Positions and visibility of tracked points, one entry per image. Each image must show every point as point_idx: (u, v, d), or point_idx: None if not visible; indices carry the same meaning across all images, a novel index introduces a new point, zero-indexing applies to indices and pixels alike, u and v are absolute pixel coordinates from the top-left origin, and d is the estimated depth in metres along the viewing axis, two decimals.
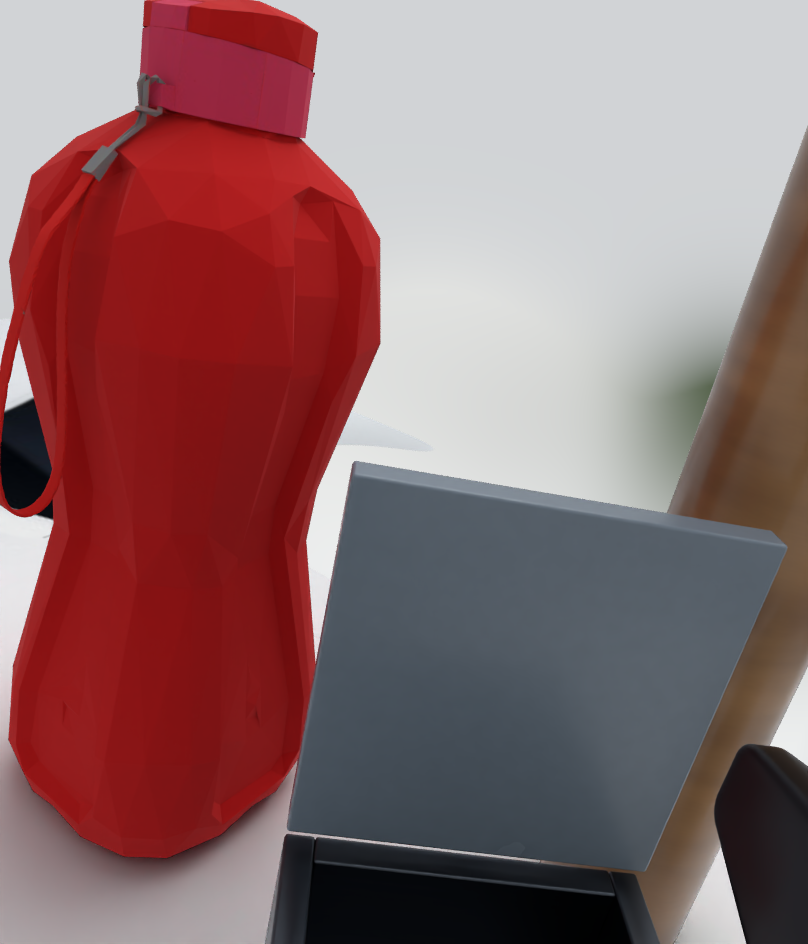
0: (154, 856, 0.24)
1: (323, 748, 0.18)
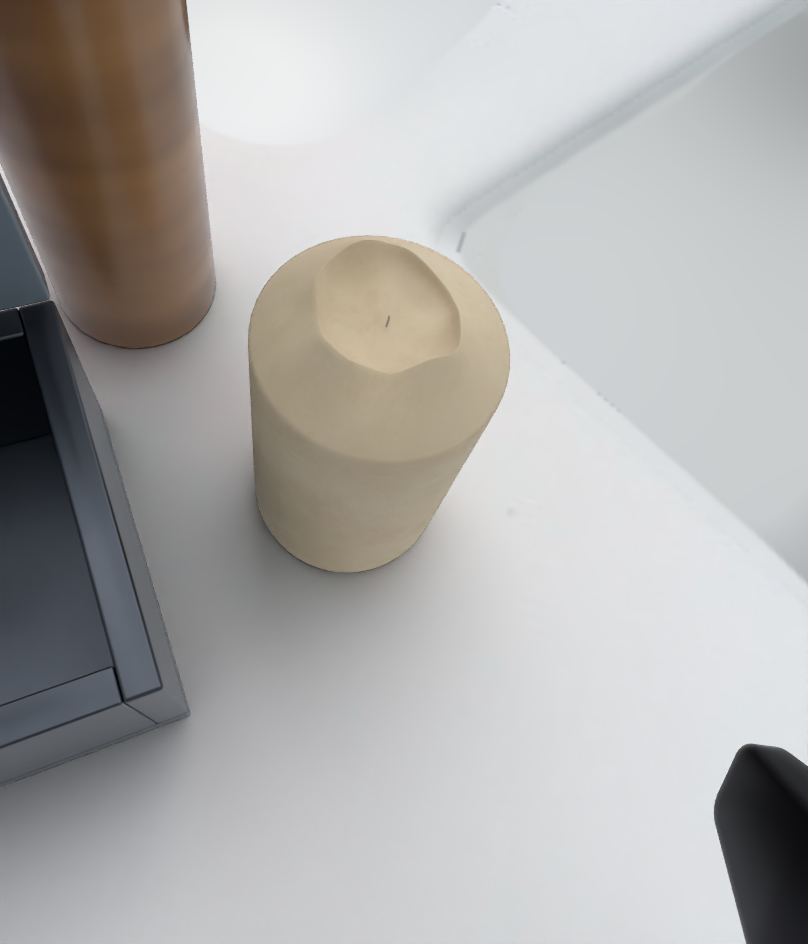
0: None
1: None
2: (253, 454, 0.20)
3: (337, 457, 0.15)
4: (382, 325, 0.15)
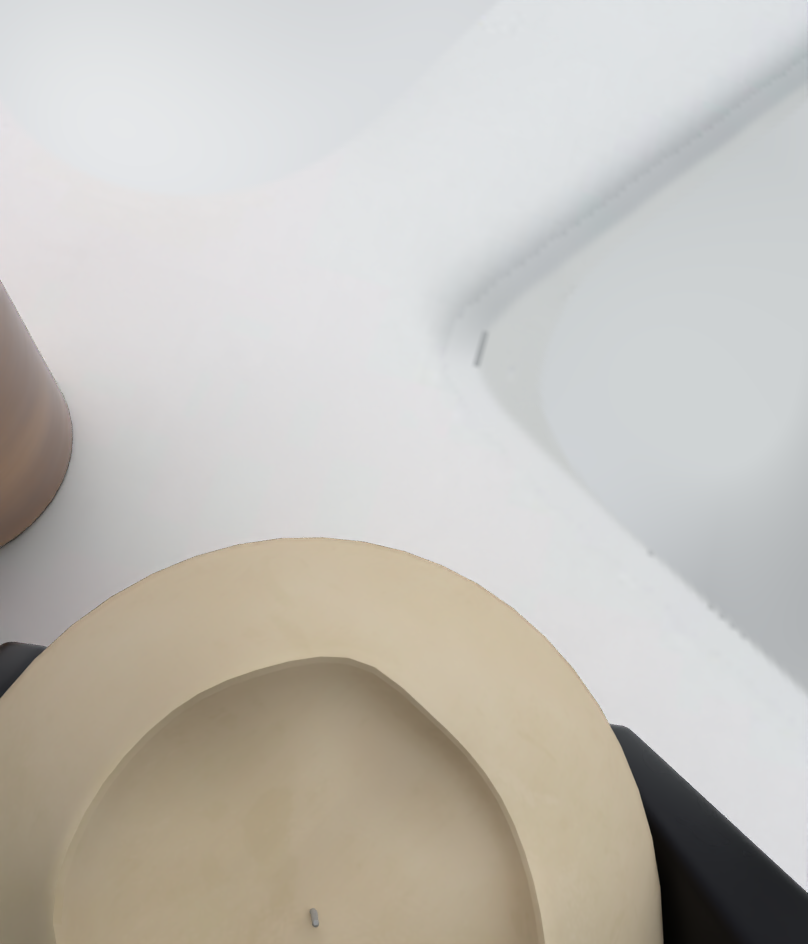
0: None
1: None
2: None
3: None
4: (299, 911, 0.05)
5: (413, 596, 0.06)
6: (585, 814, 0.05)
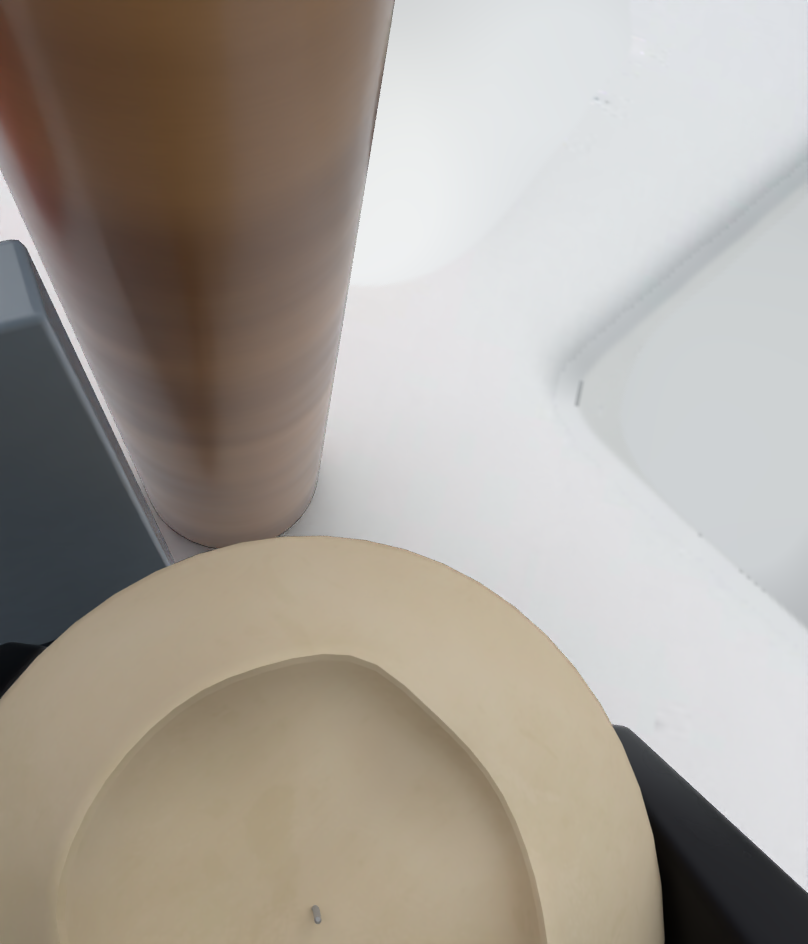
0: None
1: None
2: None
3: None
4: (303, 908, 0.05)
5: (415, 594, 0.06)
6: (586, 811, 0.05)
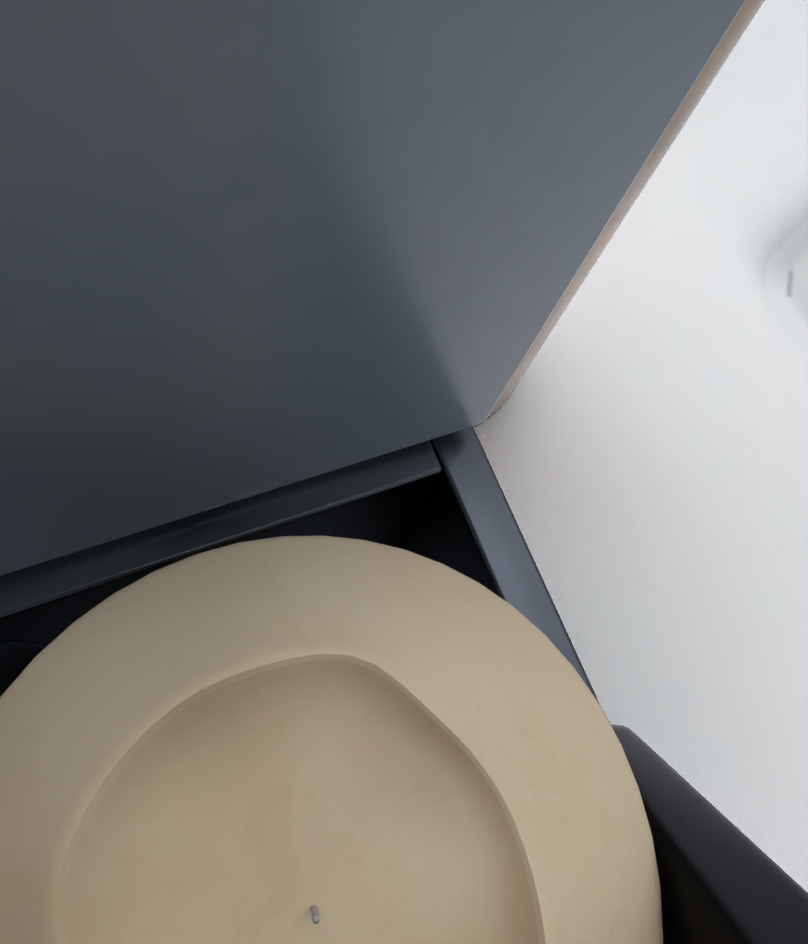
0: None
1: None
2: None
3: None
4: (300, 908, 0.05)
5: (413, 594, 0.06)
6: (585, 811, 0.05)
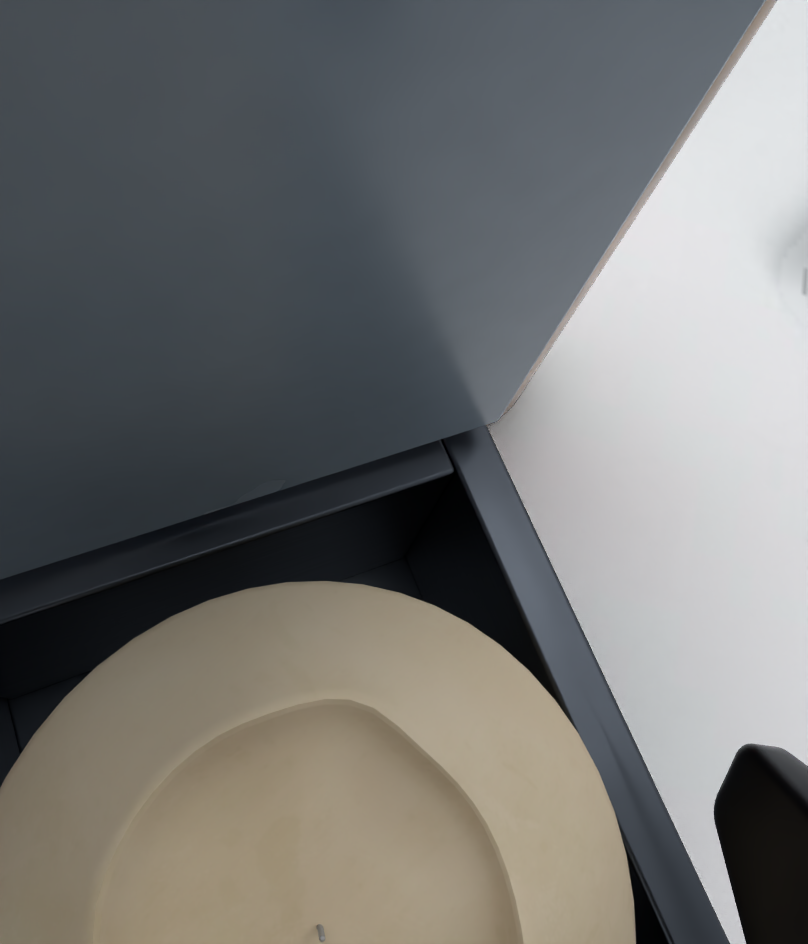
0: None
1: None
2: None
3: None
4: (307, 927, 0.06)
5: (408, 637, 0.07)
6: (563, 836, 0.06)
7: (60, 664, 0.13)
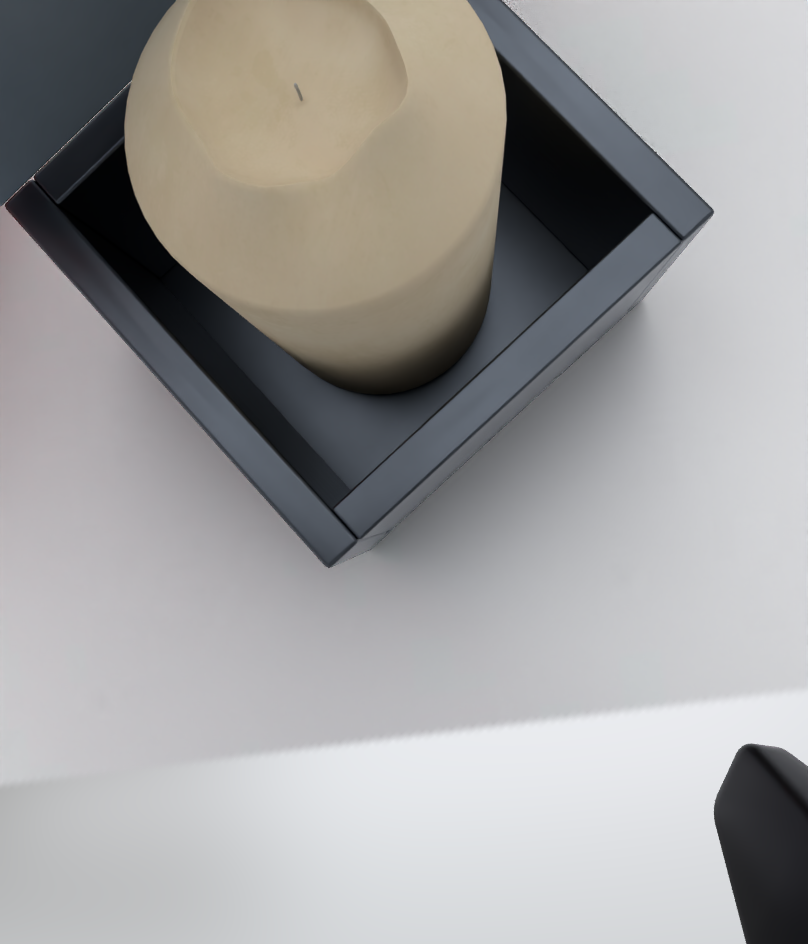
0: None
1: None
2: None
3: (323, 315, 0.11)
4: (295, 101, 0.10)
5: None
6: (418, 0, 0.10)
7: None
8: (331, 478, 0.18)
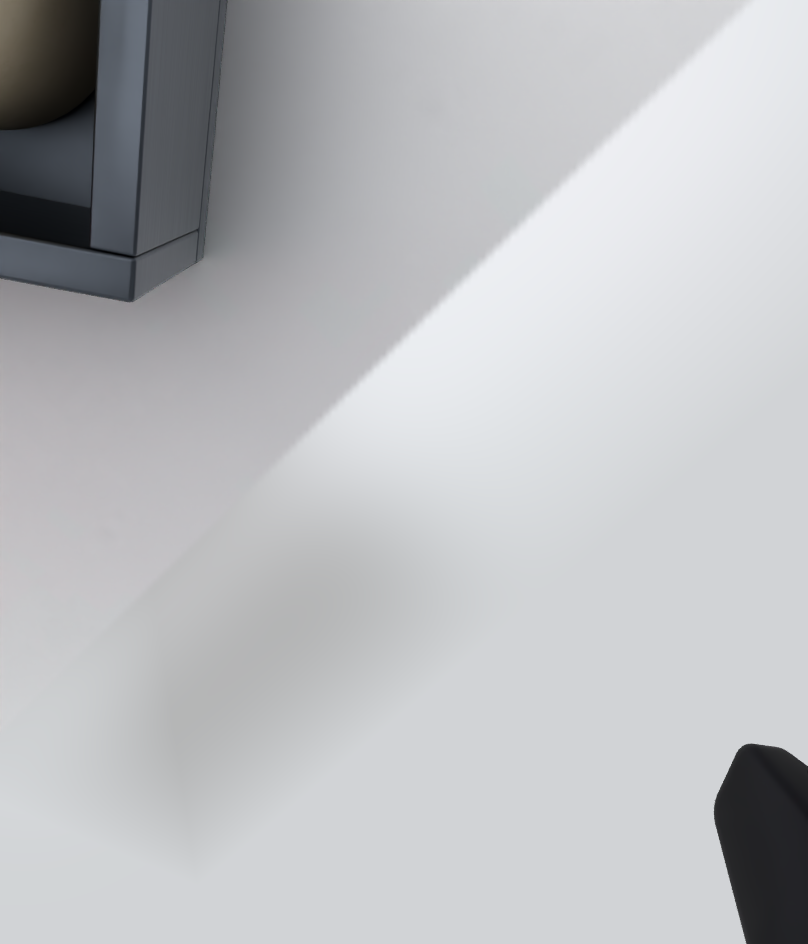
0: None
1: None
2: None
3: None
4: None
5: None
6: None
7: None
8: None
